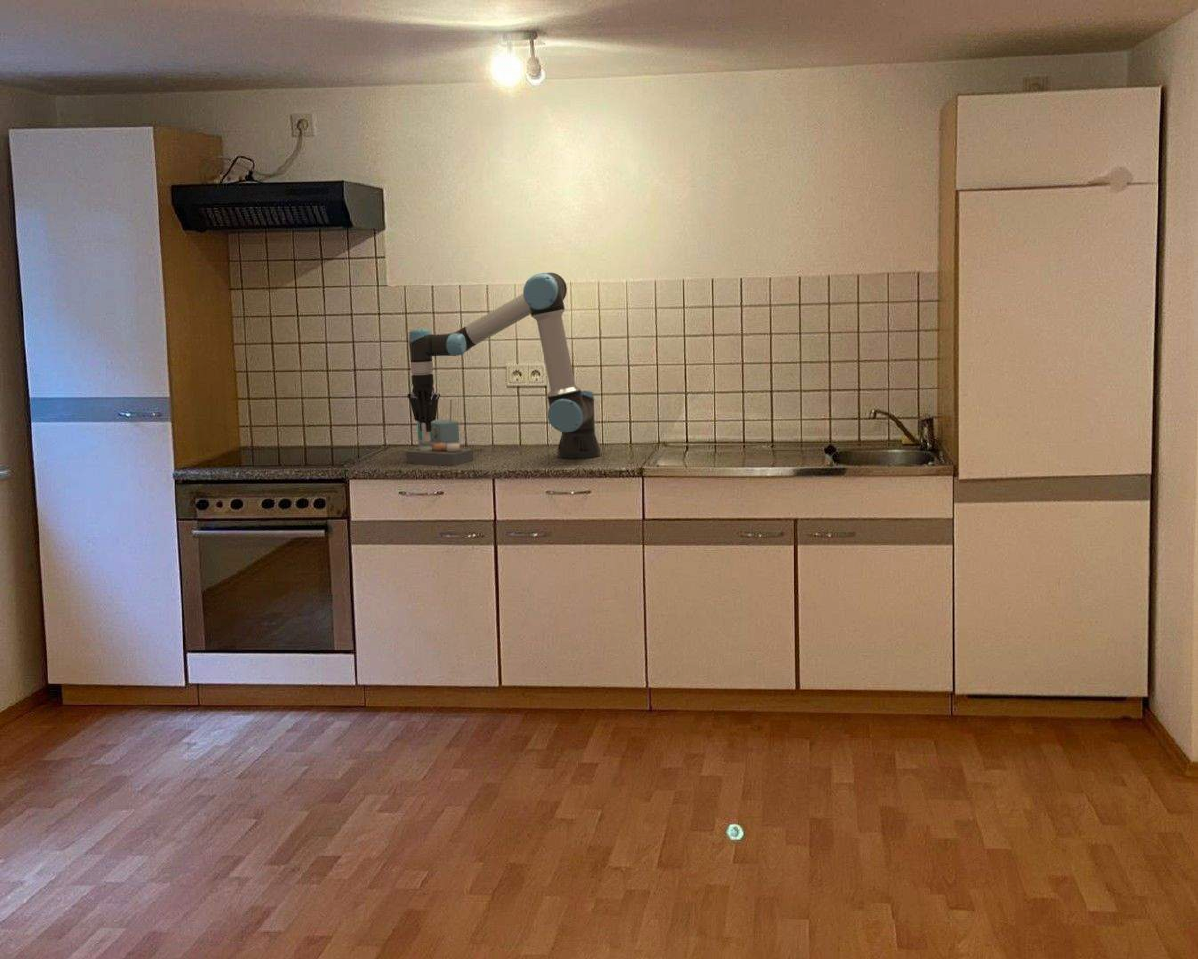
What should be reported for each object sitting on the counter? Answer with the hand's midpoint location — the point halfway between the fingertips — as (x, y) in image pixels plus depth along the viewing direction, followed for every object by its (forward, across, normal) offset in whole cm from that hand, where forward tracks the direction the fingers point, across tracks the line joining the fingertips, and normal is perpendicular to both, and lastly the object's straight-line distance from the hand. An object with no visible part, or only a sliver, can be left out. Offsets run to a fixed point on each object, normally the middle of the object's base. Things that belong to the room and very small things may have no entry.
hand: (426, 441), depth 513 cm
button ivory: (+3, -11, 0) cm, 12 cm away
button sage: (+5, +1, 0) cm, 5 cm away
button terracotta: (+3, -5, 0) cm, 6 cm away
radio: (+7, +8, -16) cm, 19 cm away
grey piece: (+7, -5, 0) cm, 9 cm away
